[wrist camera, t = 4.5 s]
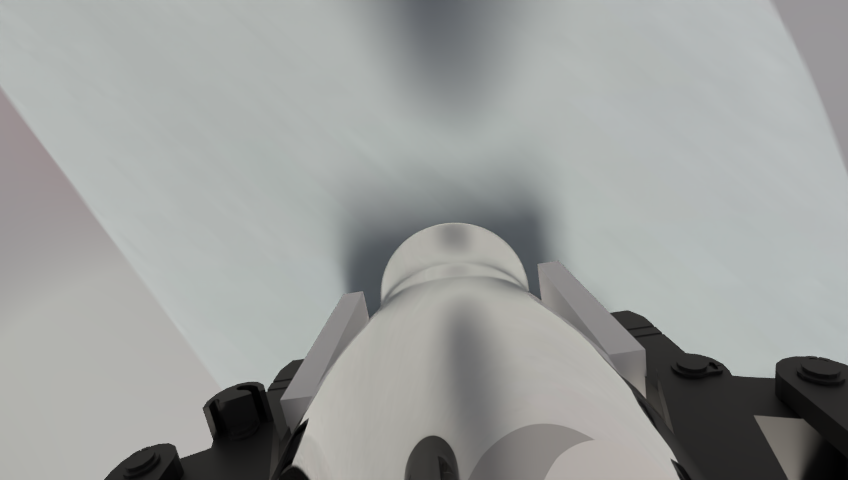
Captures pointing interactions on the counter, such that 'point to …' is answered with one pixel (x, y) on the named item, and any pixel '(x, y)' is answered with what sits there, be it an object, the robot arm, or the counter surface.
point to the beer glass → (475, 383)
